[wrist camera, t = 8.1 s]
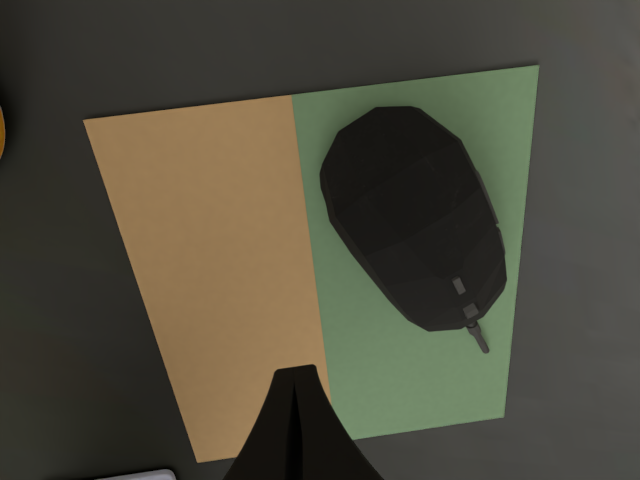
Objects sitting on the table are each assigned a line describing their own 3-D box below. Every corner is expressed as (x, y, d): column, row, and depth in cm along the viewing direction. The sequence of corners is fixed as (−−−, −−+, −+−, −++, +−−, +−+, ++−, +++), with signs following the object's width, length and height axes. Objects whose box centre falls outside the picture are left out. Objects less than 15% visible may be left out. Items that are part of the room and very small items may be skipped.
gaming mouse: (435, 375, 22) (464, 433, 18) (290, 157, 17) (292, 178, 13) (536, 321, 21) (588, 371, 18) (417, 74, 16) (457, 71, 12)
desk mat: (502, 415, 24) (504, 417, 24) (197, 460, 23) (197, 462, 23) (537, 64, 16) (539, 64, 16) (84, 119, 16) (82, 119, 16)
